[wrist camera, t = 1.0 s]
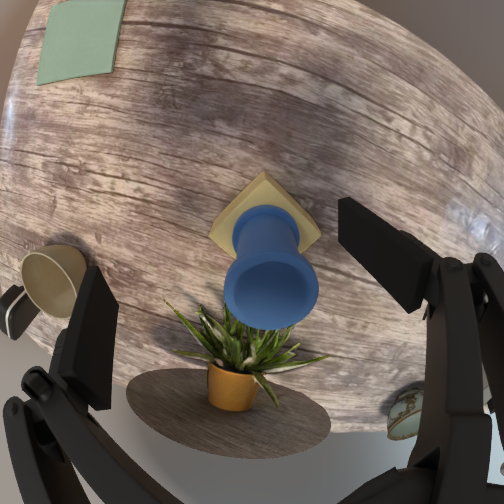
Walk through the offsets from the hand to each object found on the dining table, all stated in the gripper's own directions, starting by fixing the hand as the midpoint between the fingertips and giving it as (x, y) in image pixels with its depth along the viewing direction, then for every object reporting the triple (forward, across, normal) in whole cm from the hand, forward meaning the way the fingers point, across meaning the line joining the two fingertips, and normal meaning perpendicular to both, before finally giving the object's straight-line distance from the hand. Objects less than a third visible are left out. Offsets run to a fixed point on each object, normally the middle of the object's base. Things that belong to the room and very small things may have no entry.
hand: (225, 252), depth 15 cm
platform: (+16, +6, -7) cm, 19 cm away
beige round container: (+23, -20, -9) cm, 32 cm away
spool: (+11, +5, -6) cm, 14 cm away
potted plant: (+16, 0, -23) cm, 28 cm away
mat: (+24, -10, +21) cm, 33 cm away
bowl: (+4, +30, -50) cm, 59 cm away
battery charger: (+25, -29, -11) cm, 40 cm away
